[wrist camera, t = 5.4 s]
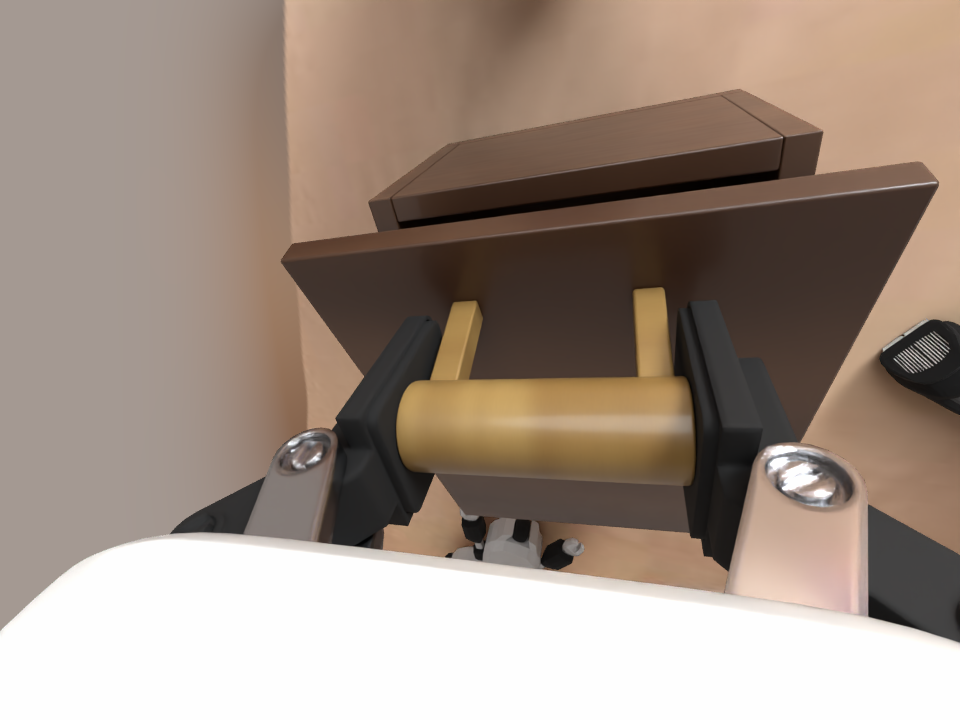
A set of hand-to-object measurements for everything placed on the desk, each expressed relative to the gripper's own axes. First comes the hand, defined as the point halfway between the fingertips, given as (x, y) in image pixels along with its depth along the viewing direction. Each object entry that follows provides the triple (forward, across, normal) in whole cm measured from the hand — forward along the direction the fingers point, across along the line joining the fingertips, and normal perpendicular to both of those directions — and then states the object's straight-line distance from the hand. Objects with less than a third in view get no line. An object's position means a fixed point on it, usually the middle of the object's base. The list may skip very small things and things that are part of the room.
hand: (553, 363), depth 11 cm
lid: (+3, 0, +5) cm, 6 cm away
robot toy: (+16, +10, +34) cm, 39 cm away
